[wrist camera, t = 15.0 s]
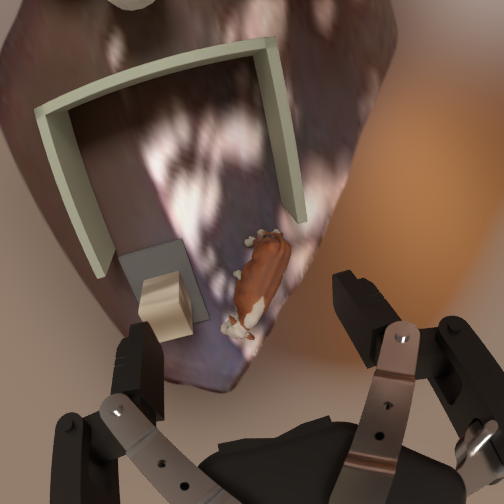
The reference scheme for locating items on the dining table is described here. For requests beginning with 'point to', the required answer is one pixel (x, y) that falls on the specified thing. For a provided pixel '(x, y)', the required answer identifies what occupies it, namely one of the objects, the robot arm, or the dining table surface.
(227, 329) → the bull figurine
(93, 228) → the green u-shaped frame
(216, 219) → the dining table surface
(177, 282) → the cream block
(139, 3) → the cream cup
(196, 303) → the grey rectangular plate
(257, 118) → the dining table surface
